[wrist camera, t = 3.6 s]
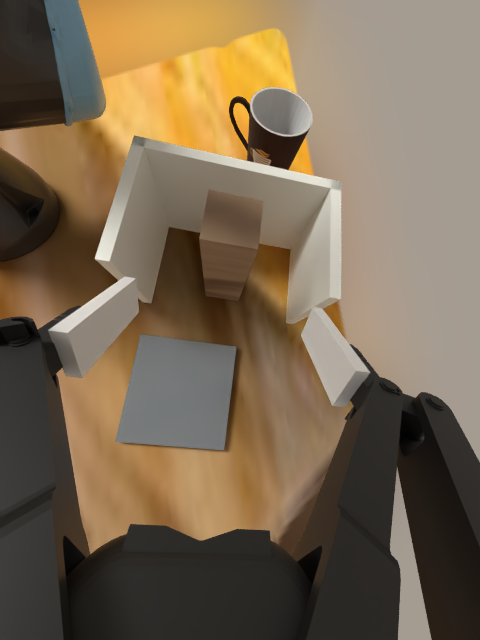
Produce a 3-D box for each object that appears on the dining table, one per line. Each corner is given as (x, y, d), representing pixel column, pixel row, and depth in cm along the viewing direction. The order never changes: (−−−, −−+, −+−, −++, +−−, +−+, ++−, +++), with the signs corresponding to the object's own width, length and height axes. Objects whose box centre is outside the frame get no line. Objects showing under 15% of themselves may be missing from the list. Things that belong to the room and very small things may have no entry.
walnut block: (238, 300, 31) (258, 249, 17) (205, 295, 30) (199, 238, 17) (242, 271, 32) (263, 200, 18) (210, 265, 31) (208, 189, 18)
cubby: (293, 324, 31) (341, 299, 19) (142, 302, 29) (94, 258, 17) (297, 244, 34) (341, 181, 23) (162, 219, 32) (134, 135, 20)
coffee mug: (295, 189, 37) (324, 125, 27) (256, 205, 35) (273, 144, 25) (261, 142, 38) (278, 66, 29) (222, 156, 36) (225, 79, 27)
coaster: (118, 439, 25) (115, 441, 24) (142, 335, 28) (140, 334, 27) (223, 447, 26) (224, 450, 25) (235, 347, 29) (236, 346, 28)
